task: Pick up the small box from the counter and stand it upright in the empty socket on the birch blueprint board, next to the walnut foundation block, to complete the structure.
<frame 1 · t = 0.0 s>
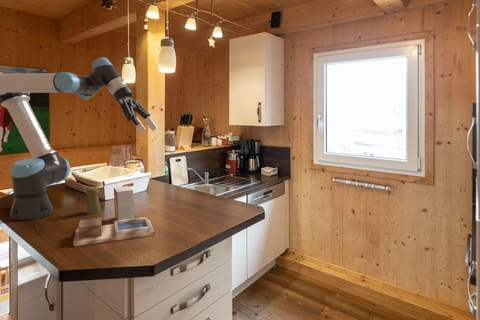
hand: (149, 130, 137), 36 cm above the worktop, tool tilted 35°, fingers open, 13 cm apart
blueprint board: (115, 233, 113), on the worktop
small box: (124, 219, 129), on the worktop
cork: (93, 212, 137), on the worktop
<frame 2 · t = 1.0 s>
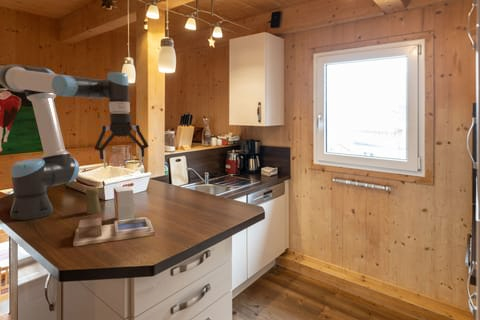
hand: (123, 166, 126), 22 cm above the worktop, tool pointing down, fingers open, 13 cm apart
nothing on the worktop moved.
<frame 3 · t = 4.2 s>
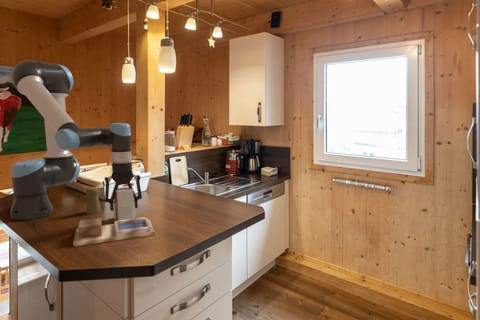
hand: (124, 216, 128), 1 cm above the worktop, tool pointing down, fingers closed on small box, 7 cm apart
small box: (124, 219, 129), on the worktop, touching gripper
everything else where it was.
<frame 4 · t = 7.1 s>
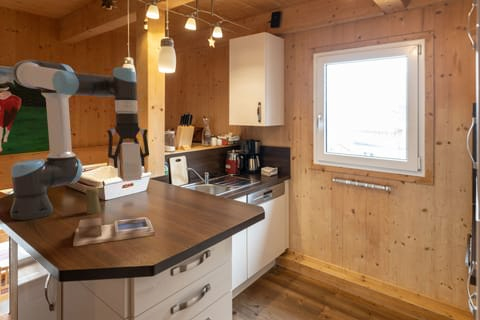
hand: (129, 175, 114), 21 cm above the worktop, tool pointing down, fingers closed on small box, 7 cm apart
small box: (130, 179, 114), point 19 cm above the worktop, touching gripper
everything else where it was.
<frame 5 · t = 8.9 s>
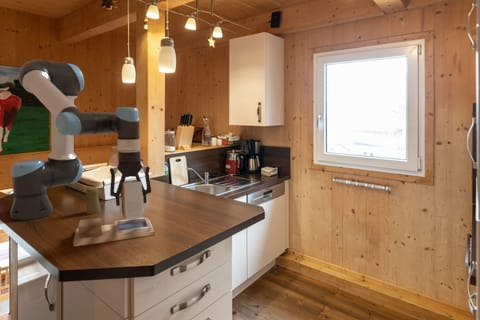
hand: (131, 212, 115), 7 cm above the worktop, tool pointing down, fingers closed on small box, 7 cm apart
small box: (131, 216, 115), point 6 cm above the worktop, touching gripper
everything else where it was.
when the fingers open (4 cm above the worktop, at t = 10.2 s): small box drops 2 cm, resting on blueprint board.
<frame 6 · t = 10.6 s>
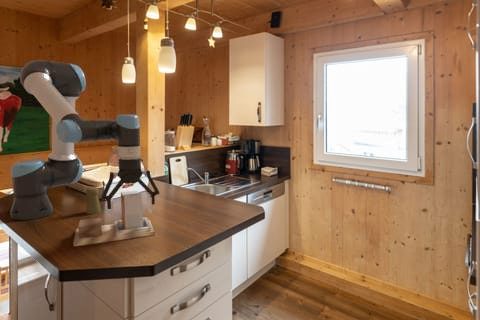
hand: (132, 215, 115), 6 cm above the worktop, tool pointing down, fingers open, 13 cm apart
small box: (132, 228, 116), point 1 cm above the worktop, touching blueprint board
everything else where it was.
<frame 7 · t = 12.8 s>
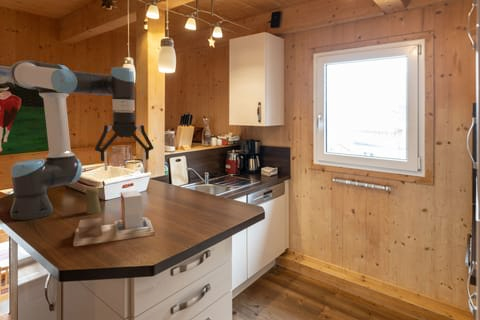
hand: (125, 169, 117), 23 cm above the worktop, tool pointing down, fingers open, 13 cm apart
nothing on the worktop moved.
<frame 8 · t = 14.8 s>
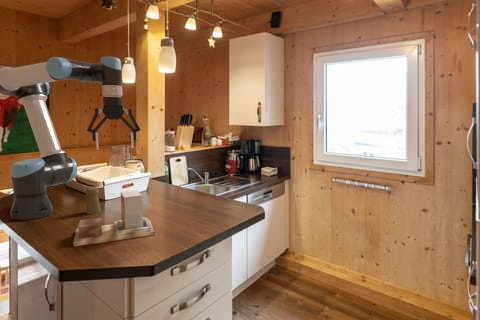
hand: (115, 148, 130), 29 cm above the worktop, tool pointing down, fingers open, 13 cm apart
nothing on the worktop moved.
at the end: small box 0.0 cm from the target spot on the blueprint board, point 1.1 cm above the blueprint board's base; small box tilted 0°; the gripper is holding nothing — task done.
